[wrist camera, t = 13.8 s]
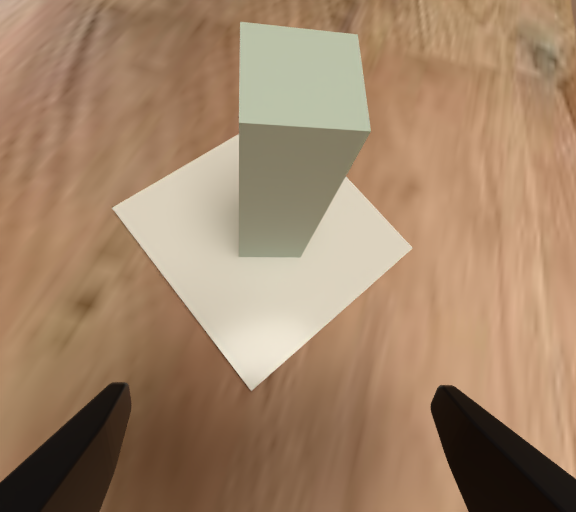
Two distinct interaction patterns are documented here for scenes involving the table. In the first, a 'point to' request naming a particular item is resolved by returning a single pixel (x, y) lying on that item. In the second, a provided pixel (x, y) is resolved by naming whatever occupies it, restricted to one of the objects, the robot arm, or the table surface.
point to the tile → (256, 261)
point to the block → (295, 132)
